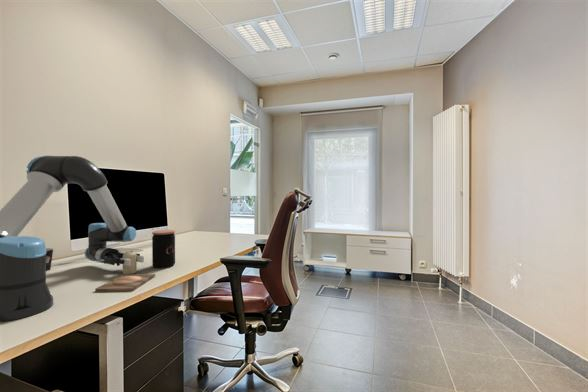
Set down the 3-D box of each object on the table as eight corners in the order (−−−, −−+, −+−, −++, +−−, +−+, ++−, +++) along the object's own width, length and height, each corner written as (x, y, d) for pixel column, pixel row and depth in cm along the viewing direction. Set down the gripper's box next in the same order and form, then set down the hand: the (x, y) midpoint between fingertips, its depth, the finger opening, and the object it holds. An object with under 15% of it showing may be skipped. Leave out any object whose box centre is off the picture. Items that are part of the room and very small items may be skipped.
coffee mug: (53, 267, 136) (52, 247, 136) (54, 270, 130) (53, 250, 130) (20, 271, 128) (20, 251, 128) (19, 275, 122) (19, 253, 122)
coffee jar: (169, 268, 133) (169, 232, 133) (148, 268, 133) (147, 232, 133) (178, 263, 143) (178, 229, 143) (159, 263, 144) (158, 229, 143)
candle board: (132, 291, 102) (132, 287, 102) (95, 291, 102) (95, 287, 102) (155, 276, 120) (155, 273, 120) (123, 277, 120) (123, 273, 120)
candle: (130, 274, 121) (130, 252, 121) (119, 274, 123) (119, 252, 123) (139, 271, 127) (139, 250, 127) (129, 270, 128) (129, 249, 128)
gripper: (127, 259, 141) (155, 264, 130) (86, 267, 125) (115, 274, 114) (127, 245, 141) (155, 249, 130) (86, 251, 125) (115, 257, 114)
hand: (136, 261), depth 122 cm, fingers closed on candle, 5 cm apart
